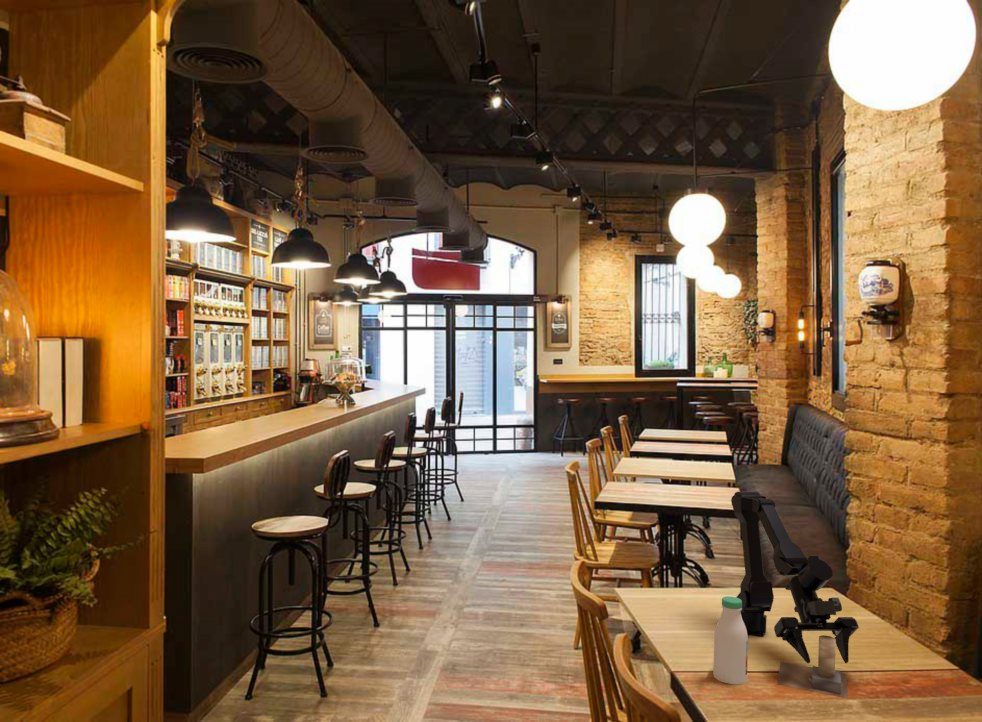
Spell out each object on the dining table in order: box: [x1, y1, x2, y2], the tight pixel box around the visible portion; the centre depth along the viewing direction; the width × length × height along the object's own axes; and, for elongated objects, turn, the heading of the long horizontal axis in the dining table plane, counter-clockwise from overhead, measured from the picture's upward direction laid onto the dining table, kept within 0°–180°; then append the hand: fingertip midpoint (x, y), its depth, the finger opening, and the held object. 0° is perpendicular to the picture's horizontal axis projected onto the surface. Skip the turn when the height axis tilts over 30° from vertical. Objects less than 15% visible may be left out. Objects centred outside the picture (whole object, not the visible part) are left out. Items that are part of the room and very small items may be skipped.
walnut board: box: [776, 661, 849, 699], centre depth 172 cm, size 15×14×1 cm
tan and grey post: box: [812, 634, 841, 694], centre depth 169 cm, size 6×7×11 cm
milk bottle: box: [712, 596, 749, 685], centre depth 172 cm, size 8×8×20 cm
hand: (827, 662), depth 168 cm, fingers open, 9 cm apart
